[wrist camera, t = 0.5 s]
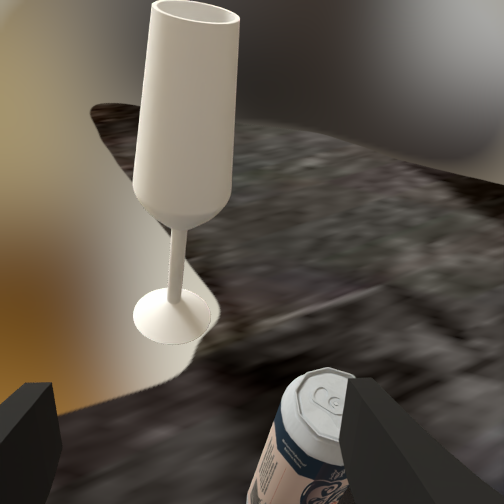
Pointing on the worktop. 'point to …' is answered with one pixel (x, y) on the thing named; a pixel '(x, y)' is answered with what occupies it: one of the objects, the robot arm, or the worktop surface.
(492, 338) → the worktop surface
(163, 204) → the champagne flute
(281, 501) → the beige capped bottle
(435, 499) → the robot arm
